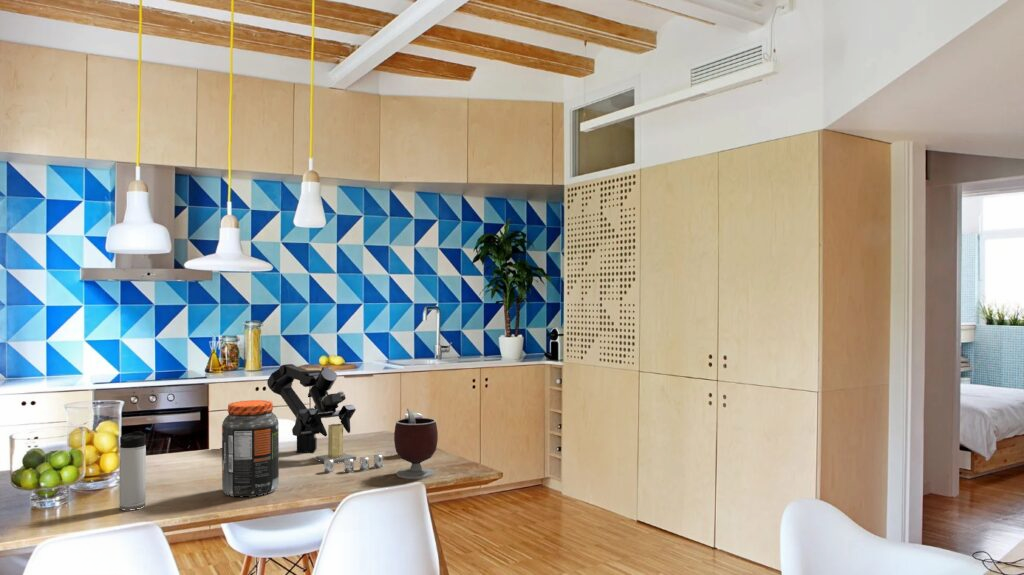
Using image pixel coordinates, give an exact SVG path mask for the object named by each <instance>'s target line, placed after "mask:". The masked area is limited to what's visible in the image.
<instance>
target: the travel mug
mask: <svg viewBox="0 0 1024 575" xmlns="http://www.w3.org/2000/svg"><path fill="white" fill-rule="evenodd" d="M146 438H147V437H146V433H144V432H143V431H134V432H129V433H125V434H123V435H121V436H120V438H119V443H120V444H119V499H118V500H119V504H118V506H119V507H118V508H120V509H125V510H130V509H137V508H141V507H143V506H145V507H146V494H147V493H146V489H147V488H146V486H147V482H146V480H147V479H146V476H147V475H146V472H147V470H146V469H147V459H146V458H147V449H146V447H147V445H146V440H147V439H146ZM120 509H119V510H120Z"/></svg>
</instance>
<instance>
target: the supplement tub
mask: <svg viewBox="0 0 1024 575" xmlns="http://www.w3.org/2000/svg"><path fill="white" fill-rule="evenodd" d="M273 409H274V404H273V402H272V401H270V400H262V399H257V400H256V399H254V400H253V399H252V400H239V401H235V402H230V403H228V407H227V412H228V415H227V416H225V418H224V420H223V421H222V424H221V476H222V477H221V479H222V480H221V481H222V482H221V483H222V484H221V488H222V492H223V493H224V494H225V495H227V496H229V495H230V497H234V496H240V497H239V498H244V497H243V496H249V497H256V495H258V496H263V494H264V495H267V493H268V494H271V493H272V492H274V491H276V490H277V488H278V487H279V481H280V480H279V475H280V474H279V472H280V470H279V460H280V459H279V458H280V457H279V456H280V454H279V450H280V448H279V447H280V446H279V444H280V443H279V438H280V437H279V433H280V432H279V430H280V429H279V420H278V417H277V415H276V414H275V413H274V412H273Z"/></svg>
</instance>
